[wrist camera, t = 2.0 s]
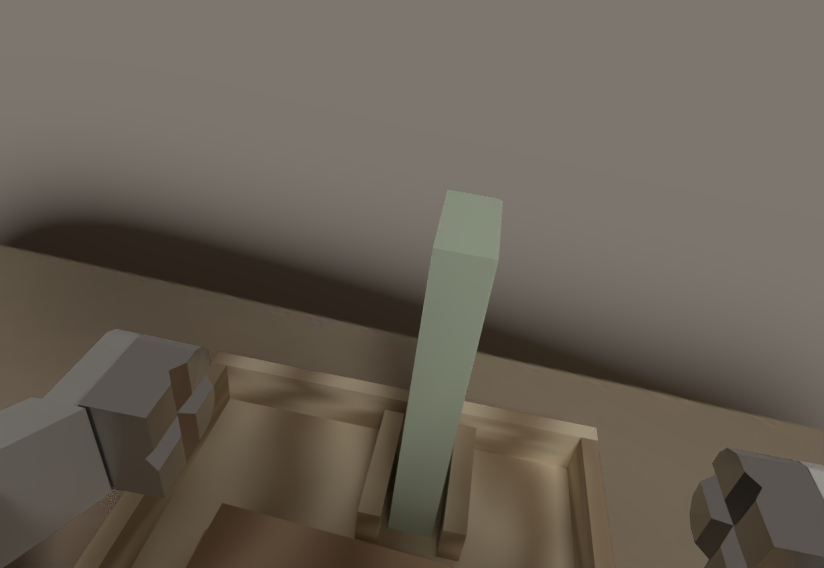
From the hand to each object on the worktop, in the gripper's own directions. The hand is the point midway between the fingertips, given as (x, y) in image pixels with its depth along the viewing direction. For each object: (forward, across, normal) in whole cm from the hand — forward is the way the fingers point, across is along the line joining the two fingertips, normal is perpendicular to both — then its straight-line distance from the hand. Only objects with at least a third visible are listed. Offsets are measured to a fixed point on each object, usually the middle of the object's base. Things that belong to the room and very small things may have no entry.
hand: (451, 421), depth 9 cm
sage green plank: (+14, 0, +22) cm, 26 cm away
